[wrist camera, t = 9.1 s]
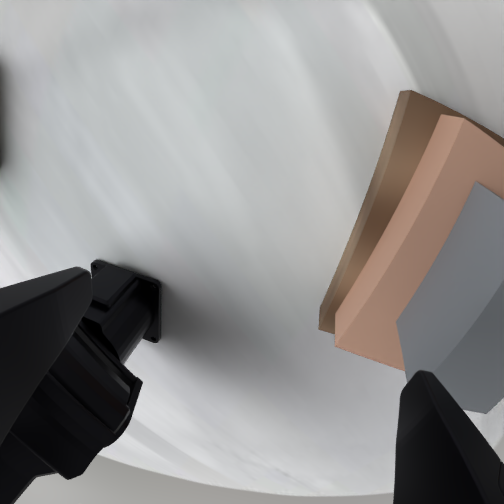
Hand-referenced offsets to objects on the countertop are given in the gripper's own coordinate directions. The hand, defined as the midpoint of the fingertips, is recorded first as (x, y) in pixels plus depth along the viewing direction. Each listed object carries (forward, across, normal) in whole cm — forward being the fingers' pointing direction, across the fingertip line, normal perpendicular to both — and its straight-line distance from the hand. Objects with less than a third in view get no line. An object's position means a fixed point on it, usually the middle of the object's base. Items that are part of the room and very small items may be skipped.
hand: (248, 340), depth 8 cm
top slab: (+10, -10, 0) cm, 14 cm away
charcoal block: (+7, -10, -1) cm, 12 cm away
